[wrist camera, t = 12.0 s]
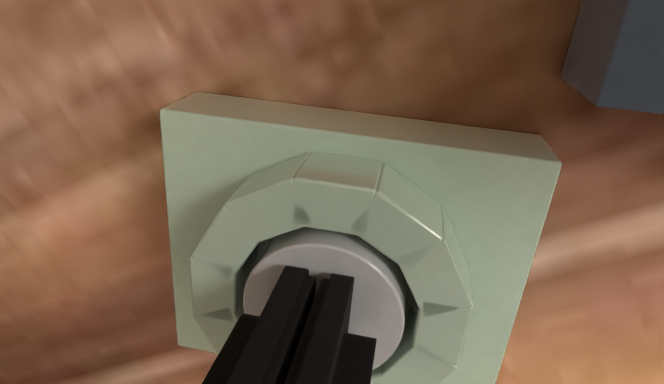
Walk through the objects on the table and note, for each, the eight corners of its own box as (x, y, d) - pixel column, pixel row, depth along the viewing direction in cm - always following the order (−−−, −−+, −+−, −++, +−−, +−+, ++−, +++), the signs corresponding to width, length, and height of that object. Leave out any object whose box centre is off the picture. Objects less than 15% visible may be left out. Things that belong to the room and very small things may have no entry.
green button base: (543, 134, 13) (587, 195, 9) (481, 357, 16) (495, 465, 13) (195, 90, 14) (116, 128, 11) (205, 305, 18) (147, 388, 14)
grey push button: (418, 223, 12) (417, 260, 10) (397, 345, 14) (392, 393, 12) (265, 199, 12) (241, 231, 11) (263, 319, 14) (242, 362, 13)
